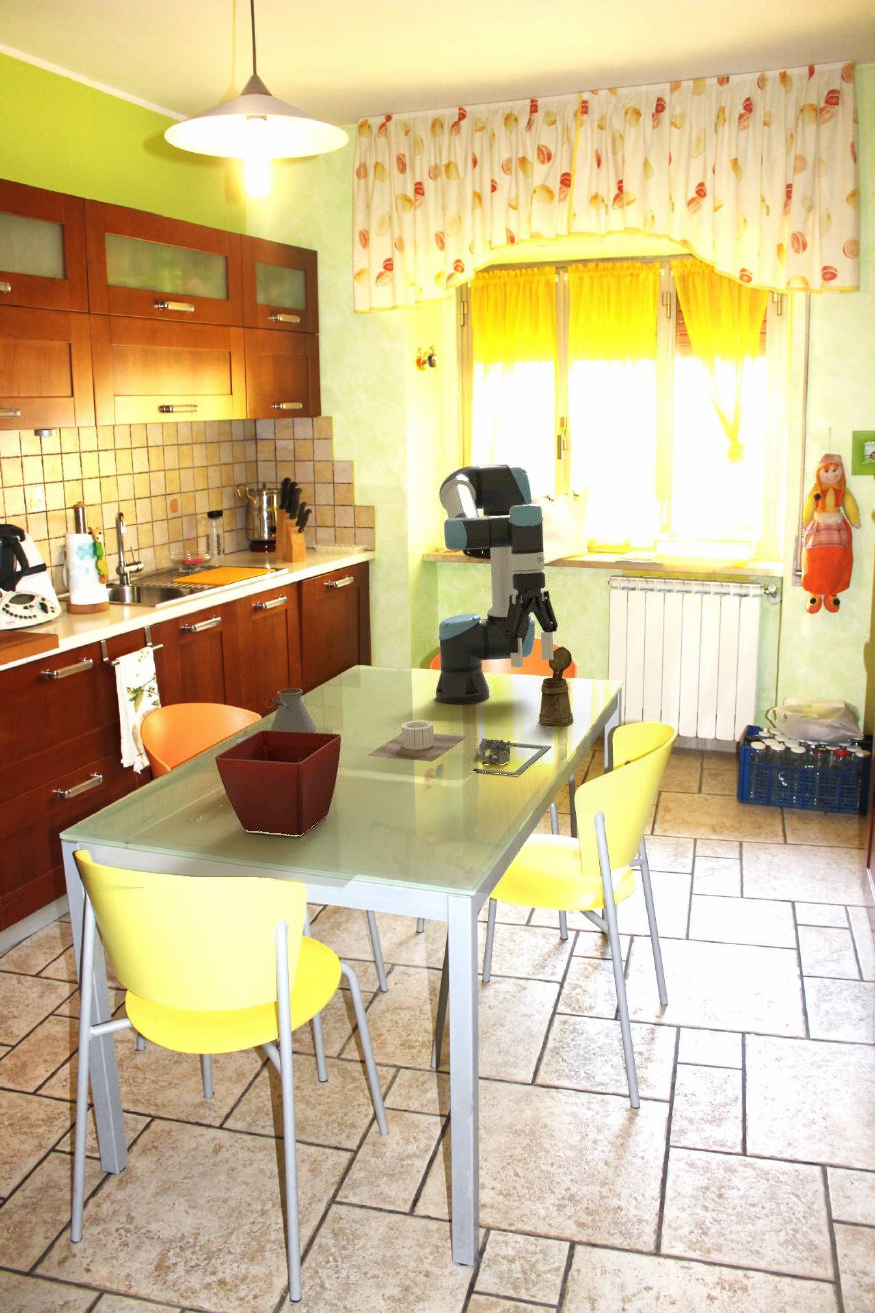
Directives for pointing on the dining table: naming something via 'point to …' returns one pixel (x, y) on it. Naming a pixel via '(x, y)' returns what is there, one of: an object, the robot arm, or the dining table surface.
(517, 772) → the mat border
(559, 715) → the wooden mug
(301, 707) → the coffee pot
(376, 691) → the dining table surface
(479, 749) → the egg carton
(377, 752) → the walnut board
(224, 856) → the dining table surface
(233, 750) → the plant pot
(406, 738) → the cream hollow cylinder
